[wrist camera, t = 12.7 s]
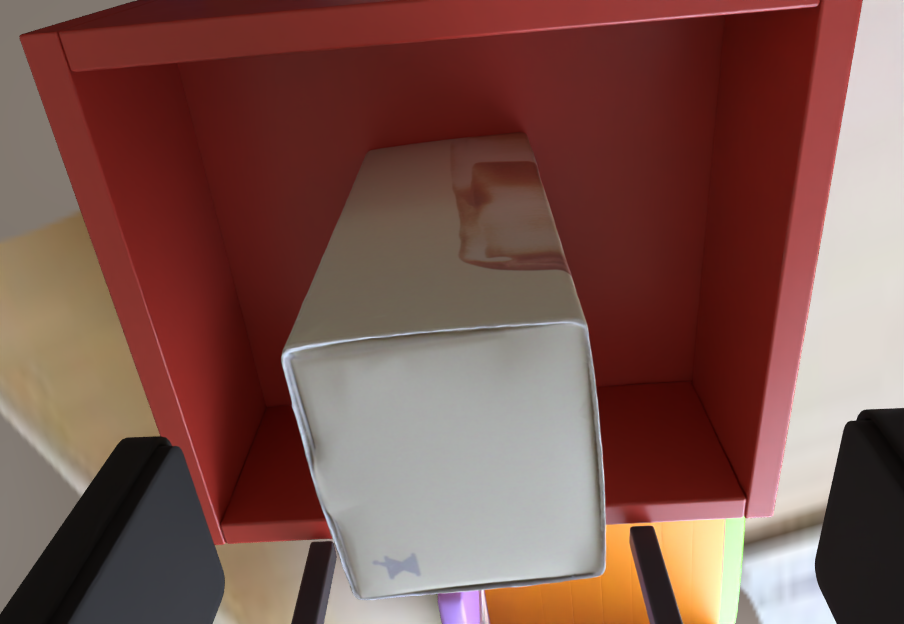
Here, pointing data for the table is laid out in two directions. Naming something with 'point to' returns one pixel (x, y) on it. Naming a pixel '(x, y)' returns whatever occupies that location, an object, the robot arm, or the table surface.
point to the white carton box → (450, 379)
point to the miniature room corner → (624, 583)
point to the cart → (451, 117)
